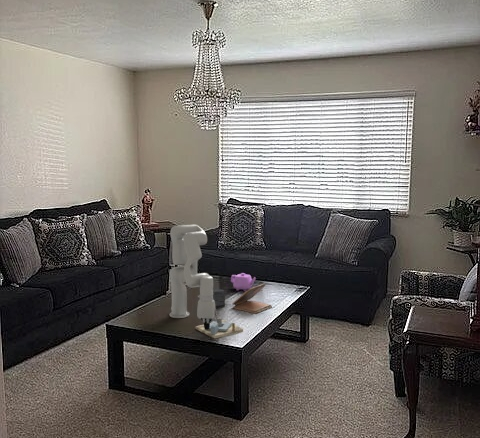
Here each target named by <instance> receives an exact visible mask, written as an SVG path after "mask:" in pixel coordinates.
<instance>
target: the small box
mask: <svg viewBox="0 0 480 438" xmlns="http://www.w3.org/2000/svg"><path fill="white" fill-rule="evenodd" d="M225 294H226V293H225V290H224V289H213V300H214V301H215V307H216V308H221V307H225V306H226V304H225V303H226V300H225V299H226V295H225Z"/></svg>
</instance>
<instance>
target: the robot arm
mask: <svg viewBox="0 0 480 438" xmlns="http://www.w3.org/2000/svg"><path fill="white" fill-rule="evenodd" d="M169 235H170V238H171V239H170V240H171V244H172V256H171V257H172V263H173V265H176V266H175V267H171V269H170V270H169V278H170V285H171V288H170V289H171V307H170V310H171V312H170V313H169V317H171V318H173V319H184V318H187V317H190V312H189V311H188V302H187V301H188V297H187V295H188V292H187V291H188V290H187V289H188V288H187V287H189V288H190V289H191V288H199V294H198V295H197V298H199V299H198V301H197V307H196V309H197V310H196V315H197V316H196V317H197V319H199V320H201V321H202V323H203V325H204V328H205V330H208V329H209V328H210V323H211V322H212V321H216V320H217V317H216V315H217V309H216V308H217V307H215V301H214V300H213V290H214V278H213V276H211V275H210V274H209V273H208V272H201V273H200V272H199V273H198V261H199V260H200V259H201V258H202V257H203V254H202V249H201V247H200V246H204V245H206V244H207V242H208V235H207V233H206V232H205V231H204V229H203V228H201V227H200V226H199V225H198V224H181V225H179V224H178V225H174V226H172V227H171V229H170V233H169ZM184 282H185V283H186V285H185V283H184Z"/></svg>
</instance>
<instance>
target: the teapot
mask: <svg viewBox="0 0 480 438" xmlns="http://www.w3.org/2000/svg"><path fill="white" fill-rule="evenodd" d="M256 279H257V278H256V277H255V276H254V277H253V278H252V276H251V275H250V274H246V273H244V272H241V273H239V274H237V275H236V274H232V275H231V277H230V282H231V283H232V284H233V285H232V287H233V288H234V289H236V290H235V291H238V292H239V291H240V290H243V292H246V291H247V290H249V289H250V288H253V284H254V283H255V281H256Z"/></svg>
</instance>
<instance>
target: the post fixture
mask: <svg viewBox="0 0 480 438" xmlns="http://www.w3.org/2000/svg"><path fill="white" fill-rule="evenodd" d="M216 321H217V323H218V327H223V326H222V322H228V321H227V320H225V319H224V320H223V318H222V317H216ZM231 323H232V325H231V326H230V328H229V329H228V330H227V331H218V332H217V333H216V334H215V335H212V334H211V330H205V328H204V324H200V325H197V326H195V329H196V330H197V331H199V332H201V333H203V334H205V335H207V336H209V337H211V338H212V339H218V338H223V337H226V336H230V335H234V334H238V333H242V332H244V328H242V327H239V326H238V325H236V324H235V322H231Z"/></svg>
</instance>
